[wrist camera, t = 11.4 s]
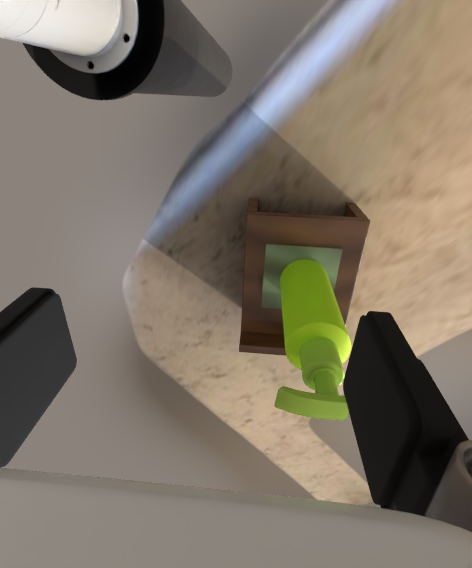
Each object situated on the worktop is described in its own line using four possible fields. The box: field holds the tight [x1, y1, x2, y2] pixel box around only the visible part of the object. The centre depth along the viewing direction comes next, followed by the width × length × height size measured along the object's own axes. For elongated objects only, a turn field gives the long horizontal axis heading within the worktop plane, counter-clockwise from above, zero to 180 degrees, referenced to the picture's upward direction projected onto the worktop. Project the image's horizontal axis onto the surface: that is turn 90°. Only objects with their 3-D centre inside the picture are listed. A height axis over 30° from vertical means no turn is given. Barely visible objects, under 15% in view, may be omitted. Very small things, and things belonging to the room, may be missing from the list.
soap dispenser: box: [274, 259, 351, 420], centre depth 33 cm, size 6×7×20 cm
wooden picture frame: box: [239, 198, 370, 355], centre depth 44 cm, size 18×14×10 cm
